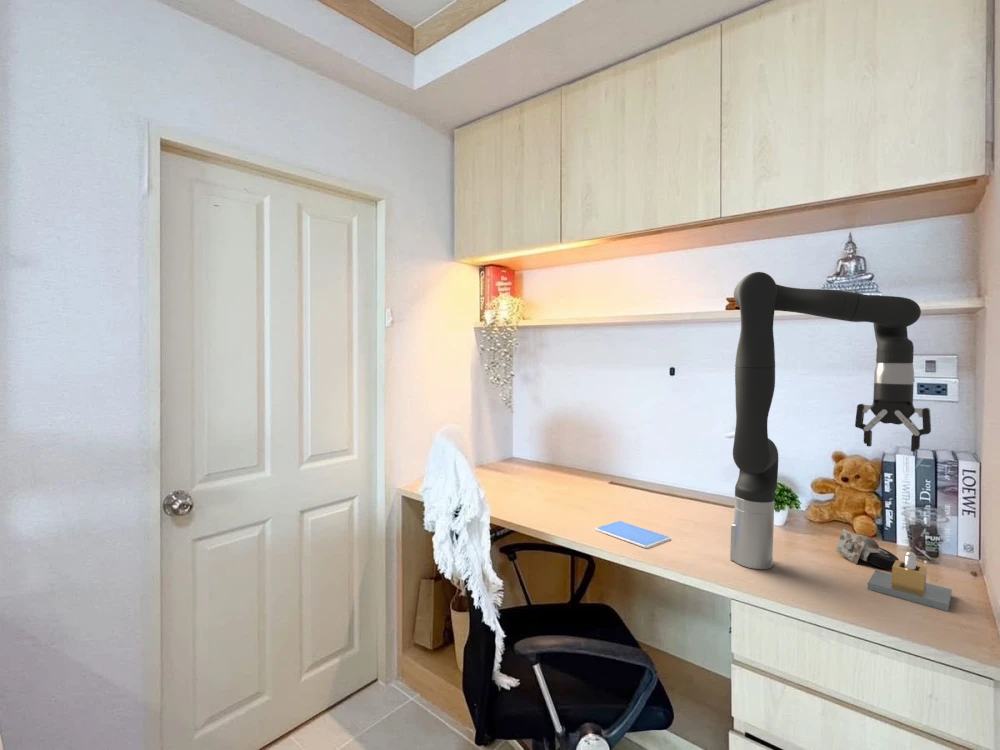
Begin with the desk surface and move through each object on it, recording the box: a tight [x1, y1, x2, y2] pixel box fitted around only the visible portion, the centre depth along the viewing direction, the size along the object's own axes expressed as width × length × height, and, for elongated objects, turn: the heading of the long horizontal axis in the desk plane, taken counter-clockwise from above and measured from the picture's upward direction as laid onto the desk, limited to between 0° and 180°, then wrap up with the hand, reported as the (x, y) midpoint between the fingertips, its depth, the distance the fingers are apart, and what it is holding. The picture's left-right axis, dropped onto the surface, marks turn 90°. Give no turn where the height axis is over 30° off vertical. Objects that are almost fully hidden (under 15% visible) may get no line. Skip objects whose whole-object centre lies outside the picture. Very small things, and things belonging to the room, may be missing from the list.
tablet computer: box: [594, 520, 672, 549], centre depth 150 cm, size 19×13×1 cm, turn 38°
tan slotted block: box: [891, 560, 928, 594], centre depth 114 cm, size 6×6×4 cm
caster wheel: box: [834, 528, 900, 571], centre depth 131 cm, size 7×11×10 cm
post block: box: [867, 551, 953, 612], centre depth 114 cm, size 14×10×10 cm
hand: (890, 448), depth 120 cm, fingers open, 8 cm apart
